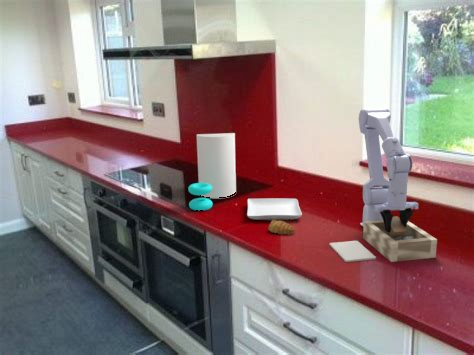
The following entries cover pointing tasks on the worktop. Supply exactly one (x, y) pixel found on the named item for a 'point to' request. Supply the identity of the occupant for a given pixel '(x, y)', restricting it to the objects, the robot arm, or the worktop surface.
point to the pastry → (281, 227)
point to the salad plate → (273, 209)
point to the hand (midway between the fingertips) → (394, 230)
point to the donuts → (200, 202)
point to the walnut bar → (397, 227)
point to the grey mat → (352, 251)
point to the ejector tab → (402, 237)
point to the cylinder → (217, 163)
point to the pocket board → (400, 242)
